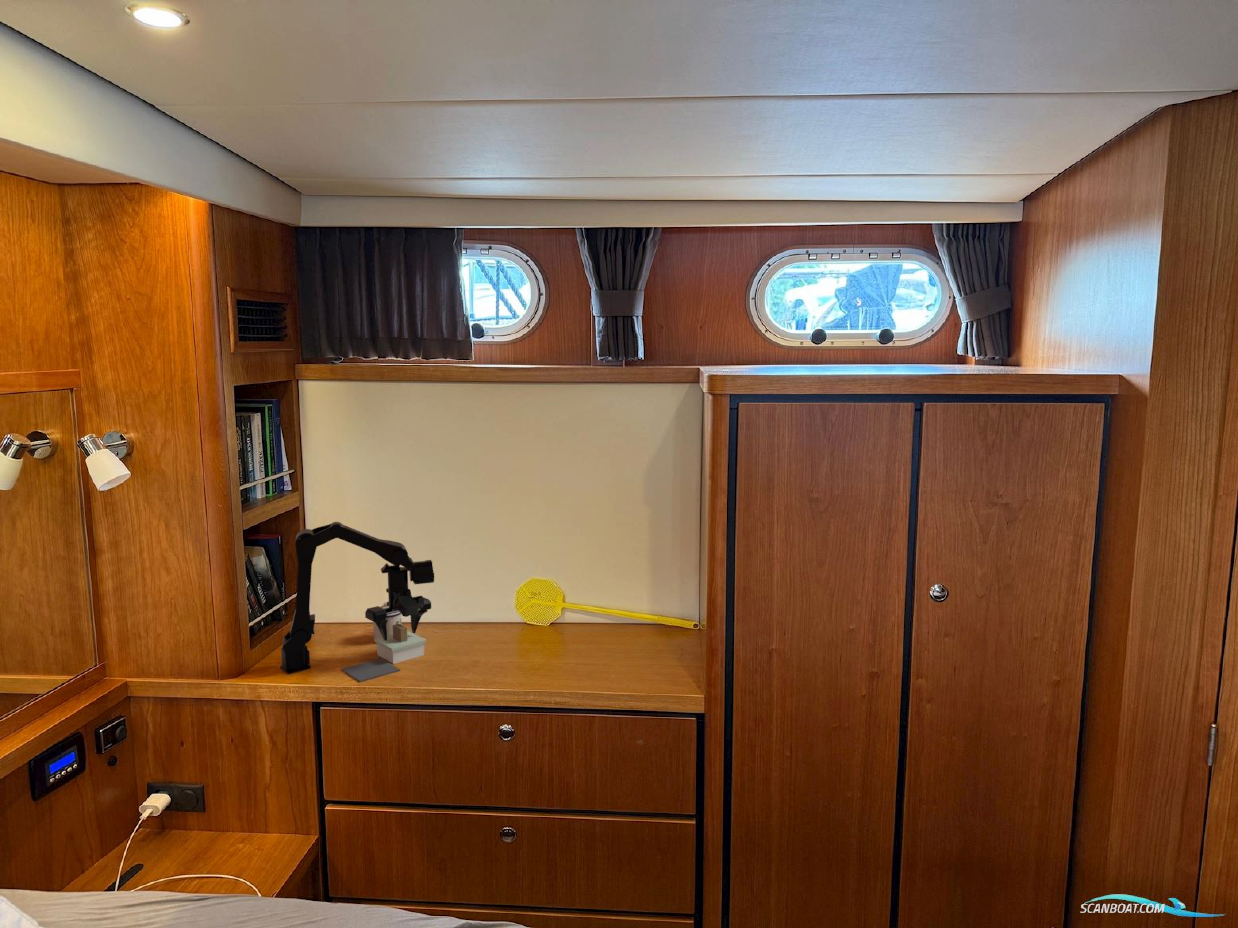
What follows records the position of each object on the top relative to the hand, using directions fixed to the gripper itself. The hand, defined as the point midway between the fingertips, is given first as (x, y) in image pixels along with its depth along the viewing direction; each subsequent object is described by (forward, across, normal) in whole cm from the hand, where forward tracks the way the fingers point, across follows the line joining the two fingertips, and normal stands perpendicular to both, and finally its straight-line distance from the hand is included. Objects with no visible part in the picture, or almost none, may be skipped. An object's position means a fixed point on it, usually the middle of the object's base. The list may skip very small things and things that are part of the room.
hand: (399, 636), depth 234 cm
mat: (+6, -12, -5) cm, 14 cm away
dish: (+6, 0, 0) cm, 6 cm away
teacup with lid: (+6, +5, +17) cm, 19 cm away
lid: (+2, 0, 0) cm, 2 cm away
